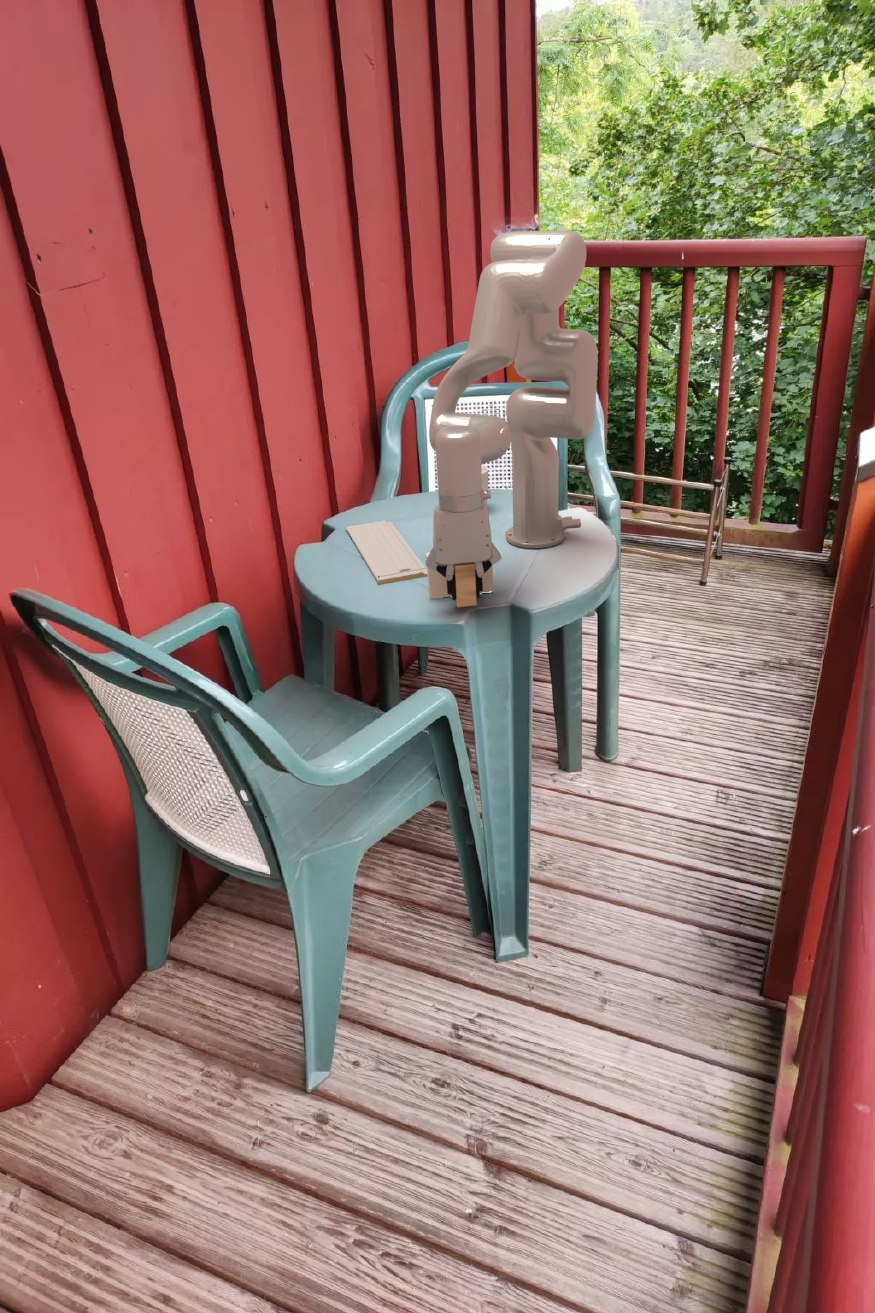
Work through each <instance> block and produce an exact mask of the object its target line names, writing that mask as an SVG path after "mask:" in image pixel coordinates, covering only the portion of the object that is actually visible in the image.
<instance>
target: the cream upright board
mask: <svg viewBox="0 0 875 1313" xmlns="http://www.w3.org/2000/svg"><path fill="white" fill-rule="evenodd" d="M430 552H431V551H429V552H425V556H426V557H425V558H426V559H427V557H428V556H429V554H430ZM426 559H425V560H426ZM435 561H436V562H437V560H435ZM444 566H445V565H444ZM426 569H427V576H426V577H427V589H428V591H427V592H428V595H429V599H430V600H437V599H444V598H443V597H448V596H451V594H448V593H447V580H446V578H445V577H444V576H442V575H441V574H440V573H439V572H437V571H436V570H433V569H431V568H429V567H427V566H426ZM493 570H494V564H493V565H492V566H491V567H490V568H489V569H488V570H487V571H486V573H485V574H484V576H483V577H482V582H483V591H480V593H482V592H489V591H493V592H494V571H493ZM448 598H449V597H448Z"/></svg>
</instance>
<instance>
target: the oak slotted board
mask: <svg viewBox="0 0 875 1313" xmlns="http://www.w3.org/2000/svg"><path fill="white" fill-rule="evenodd" d="M453 575H454V577H455V581H456V598H457V599H456V600H454V601H455V603H456V606H457V607H456V608H464V607H472V606H474V607H475V606H477V597H476V580H475V564H474V563H464V564H454V569H453Z"/></svg>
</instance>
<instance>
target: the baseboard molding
mask: <svg viewBox="0 0 875 1313" xmlns="http://www.w3.org/2000/svg"><path fill="white" fill-rule="evenodd" d="M346 529H347V530H348V532H349V534H350V535H349V534H348V535H349V537H350V536H351V537H350V538H352V539H351V540H352V542H353V544H354V543H355V544H354V545H355V547H356V549H357V550H358V552H359V554H360V555H361V557H362V559H363V561H364V562H365V563H366V565H367V567H368V568H369V570H370V572H371V574H372V575H373V577H374V578H375V580H376V582H377V583H378V585H385V584H389V583H395V582H396V583H397V582H401V581H406V580H412V579H417V578H418V579H419V578H424V577H428V576H427V567H426V565H424V564H423V563H422V561H421V559H419V557H418V556H417V554H416V553H415V552H414V550H413V549H412V547H411V546H410V545H409V544H408V542H407V541H406V539H405V538H404V537H403V535H402V534H401V533H400V531H399V530H398V529H397V527H396V526H395V525H394V524H393V522H392V521H386V520H385V519H383V520H380V521H374V522H366V523H361V524H355V525H349V526H345V530H346ZM347 530H346V531H347ZM348 532H347V533H348Z"/></svg>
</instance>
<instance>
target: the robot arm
mask: <svg viewBox="0 0 875 1313" xmlns="http://www.w3.org/2000/svg"><path fill="white" fill-rule="evenodd" d="M489 251H490V253H489V254H490V260H491V263H489V264H488V265H486V266H485V267H484V268H483V270H482V271H481V273H480V276H479V282H478V286H477V293H476V298H475V304H474V309H473V310H474V311H473V315H472V321H471V326H470V333H469V340H468V345H467V347H466V348H467V349H466V351H465V352H464V353H463V354H462V355H461V356H460V358H459V359H458V360H456V362H454V364H453V365H452V366H451V367H450V368H449V369H448V370H447V372H446V373H445V375H444V377H443V378H442V380H441V381H440V383H439V384H438V386H437V388H436V391H435V394H434V397H433V402H432V408H431V414H430V421H429V427H428V428H429V430H428V437H429V438H428V439H429V444H430V447H431V448H432V450H433V451H434V452H435V459H436V475H437V489H438V490H437V492H438V494H437V495H438V504H437V505H436V506H435V507H434V512H433V519H432V520H433V522H432V527H433V528H432V540H433V541H432V542H433V544H432V545H433V547H432V548H431V551H429V552H430V554H429V556H428V557H427V559H425V562H424V563H425V567H426V568H427V567H429V568H431V569H433V570H436V571H437V572H439V573H440V574H441V575H442V576H444V577H445V578H446V580H447V593H448V594H451V596H452V597H451V600H452V601H455V600H456V599H457V598H456V581H455V577H454V575H453V569H454V564H464V563H474V564H475V580H476V599H480V595H481V594H480V591H483V582H482V577H483V576H484V574H485V573H486V571H487V570H488V569H489V568H490V567H491V566H492V565H493V566H494V565H495V564H497V563H498V562H500V561H501V560H502V558H503V556H502V555H501V553H500V551H499V550H498V548H497V547H496V546H495V544H494V543H493V540H492V531H491V530H492V529H491V523H490V517H489V511H488V505H487V506H486V503H484V500H486V499H491V498H492V493H491V490H488V491H486V490H483V489H482V470H481V465H483V464H486V463H491V462H494V461H497V460H499V459H500V458H501V457H503V456H504V455H506V453H507V452H508V450H509V448H510V447H511V466H512V469H511V470H512V471H511V472H512V476H511V477H512V485H511V486H512V526H511V527H510V528H508V529H507V531H506V532H505V538H506V540H507V542H508V543H509V544H511V545H514V546H516V547H519V548H524V549H544V548H550V547H554V546H557V545H559V544H561V543H563V541H564V540H566V536H567V535H566V531H567V529H580V528H582V522H581V521H582V519H580V518H574V519H573V516H564V517H562V516H560V514H559V502H560V501H559V498H560V497H559V494H560V493H559V492H560V489H559V483H560V482H559V480H560V477H559V476H560V472H559V471H560V457H559V453H558V450H557V447H556V445H555V444H554V441H552V439H564V440H565V439H566V440H582V439H584V438H586V437H588V436H589V435H590V434H591V433H592V430H593V428H594V425H595V420H596V419H595V418H596V404H597V383H598V382H597V379H598V348H597V343H596V340H595V338H594V336H593V335H592V333H590V332H589V331H587V330H584V329H577V328H576V329H575V328H574V329H573V328H570V329H569V328H561V326H560V307H561V306H562V305H563V303H564V302H565V301H566V298H567V297H568V296H569V294H570V293H571V291H572V290H573V288H574V287H575V285H577V283H578V281H579V280H580V278H581V276H582V274H583V271H584V269H585V265H586V262H587V246H586V242H585V240H584V238H583V237H582V235H580V234H579V233H578V232H576V231H573V230H518V231H517V230H516V231H508V232H504V233H501V234H499V235H497V236H496V237H494V238H493V240H492V242H491V245H490V250H489ZM513 363H514V367H515V368H514V369H515V371H516V373H517V374H518V376H520V377H521V378H522V379H526V380H531V381H532V380H533V381H544V382H545V381H546V382H563V383H566V385H567V388H565V387H554V386H540V385H539V386H537V385H534V386H533V385H532V386H531V385H529V386H522V387H519V388H517V389H515V390H513V392H511V394H510V395H509V396H508V398H507V402H506V407H505V408H506V409H505V410H506V411H505V412H506V419H504V418H502V417H500V416H496V415H487V414H477V413H467V412H466V413H465V412H464V413H463V412H456V410H457V405H458V402H459V401H460V399H461V397H462V395H463V393H465V391H466V390H467V389H468V388H469V387H470V386H471V385H472V384H474V383H475V382H476V381H478V380H480V379H482V378H484V377H486V376H488V375H490V374H492V373H495V372H498V371H499V370H502V369H504V368H506V367H509V366H510V365H512V364H513ZM435 560H437V562H436V561H435ZM444 565H445V566H444Z"/></svg>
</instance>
